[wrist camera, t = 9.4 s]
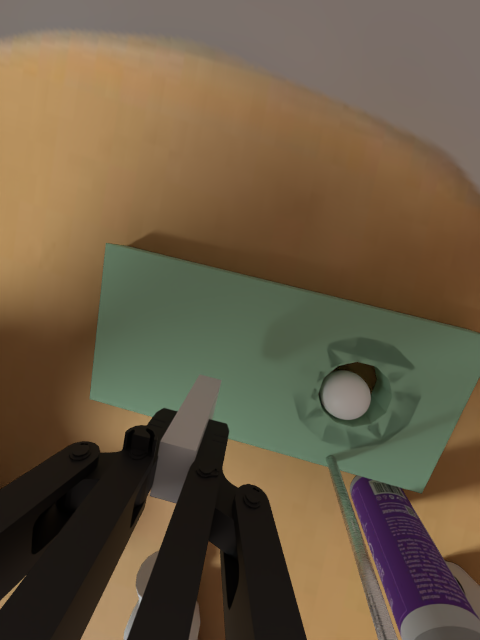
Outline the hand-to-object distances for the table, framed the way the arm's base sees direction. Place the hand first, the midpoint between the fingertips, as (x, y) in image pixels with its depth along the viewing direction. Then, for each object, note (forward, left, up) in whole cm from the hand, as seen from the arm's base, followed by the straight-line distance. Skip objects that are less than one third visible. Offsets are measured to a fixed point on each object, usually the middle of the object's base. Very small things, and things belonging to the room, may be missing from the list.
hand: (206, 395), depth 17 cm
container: (+17, -10, -8) cm, 21 cm away
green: (+4, +1, -8) cm, 9 cm away
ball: (+11, 0, -6) cm, 12 cm away
